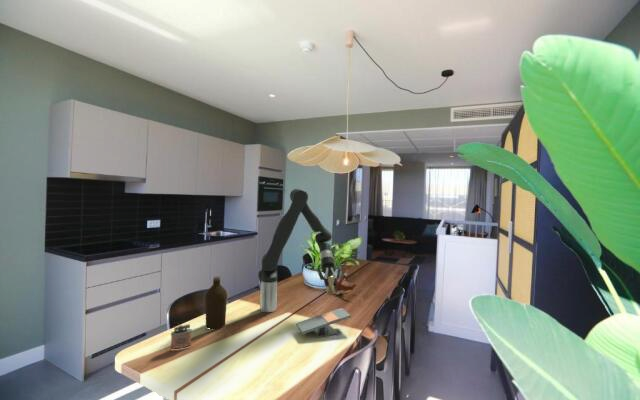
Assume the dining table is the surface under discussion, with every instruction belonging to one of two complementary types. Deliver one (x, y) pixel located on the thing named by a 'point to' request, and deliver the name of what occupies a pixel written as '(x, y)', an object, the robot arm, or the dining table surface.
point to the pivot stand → (325, 332)
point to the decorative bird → (343, 284)
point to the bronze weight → (330, 283)
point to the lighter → (181, 337)
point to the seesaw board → (322, 320)
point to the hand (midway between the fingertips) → (331, 285)
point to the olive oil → (215, 305)
